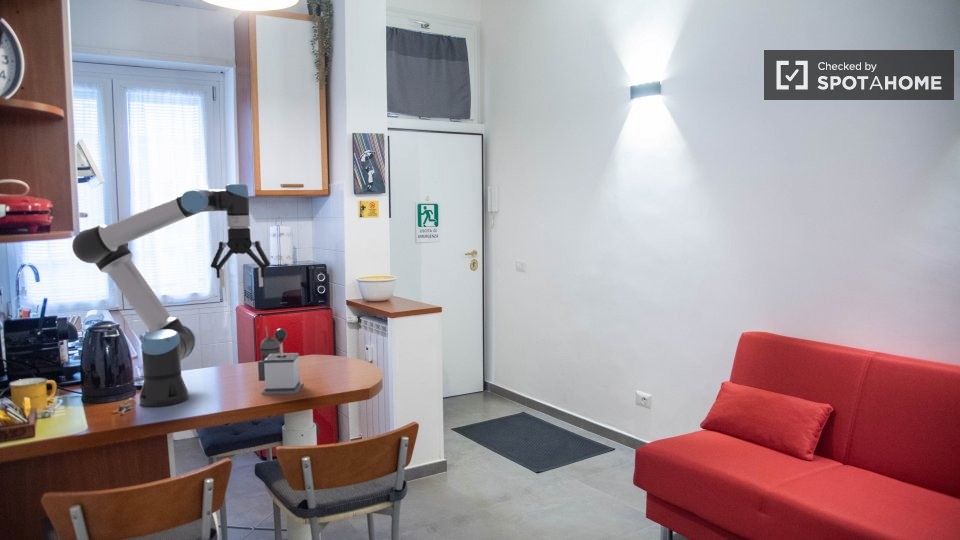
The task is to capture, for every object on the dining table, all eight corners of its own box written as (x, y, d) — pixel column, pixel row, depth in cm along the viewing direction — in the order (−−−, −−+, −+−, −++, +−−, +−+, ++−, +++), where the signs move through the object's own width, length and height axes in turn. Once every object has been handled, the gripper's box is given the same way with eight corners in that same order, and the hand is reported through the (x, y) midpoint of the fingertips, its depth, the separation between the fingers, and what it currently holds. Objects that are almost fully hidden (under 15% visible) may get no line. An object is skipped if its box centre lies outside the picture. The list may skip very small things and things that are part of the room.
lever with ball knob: (268, 385, 241) (266, 330, 239) (273, 379, 249) (271, 326, 247) (291, 384, 242) (289, 330, 239) (296, 378, 250) (294, 326, 247)
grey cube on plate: (255, 394, 239) (253, 361, 238) (263, 385, 251) (262, 353, 250) (296, 393, 240) (295, 360, 239) (303, 384, 252) (301, 352, 251)
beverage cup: (275, 380, 258) (272, 328, 255) (257, 379, 259) (254, 327, 257) (284, 375, 265) (282, 324, 262) (267, 374, 266) (264, 323, 264)
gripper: (199, 228, 238) (202, 289, 241) (272, 227, 240) (274, 287, 243) (206, 227, 246) (209, 286, 248) (276, 226, 248) (279, 284, 250)
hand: (241, 286), depth 245 cm, fingers open, 13 cm apart
